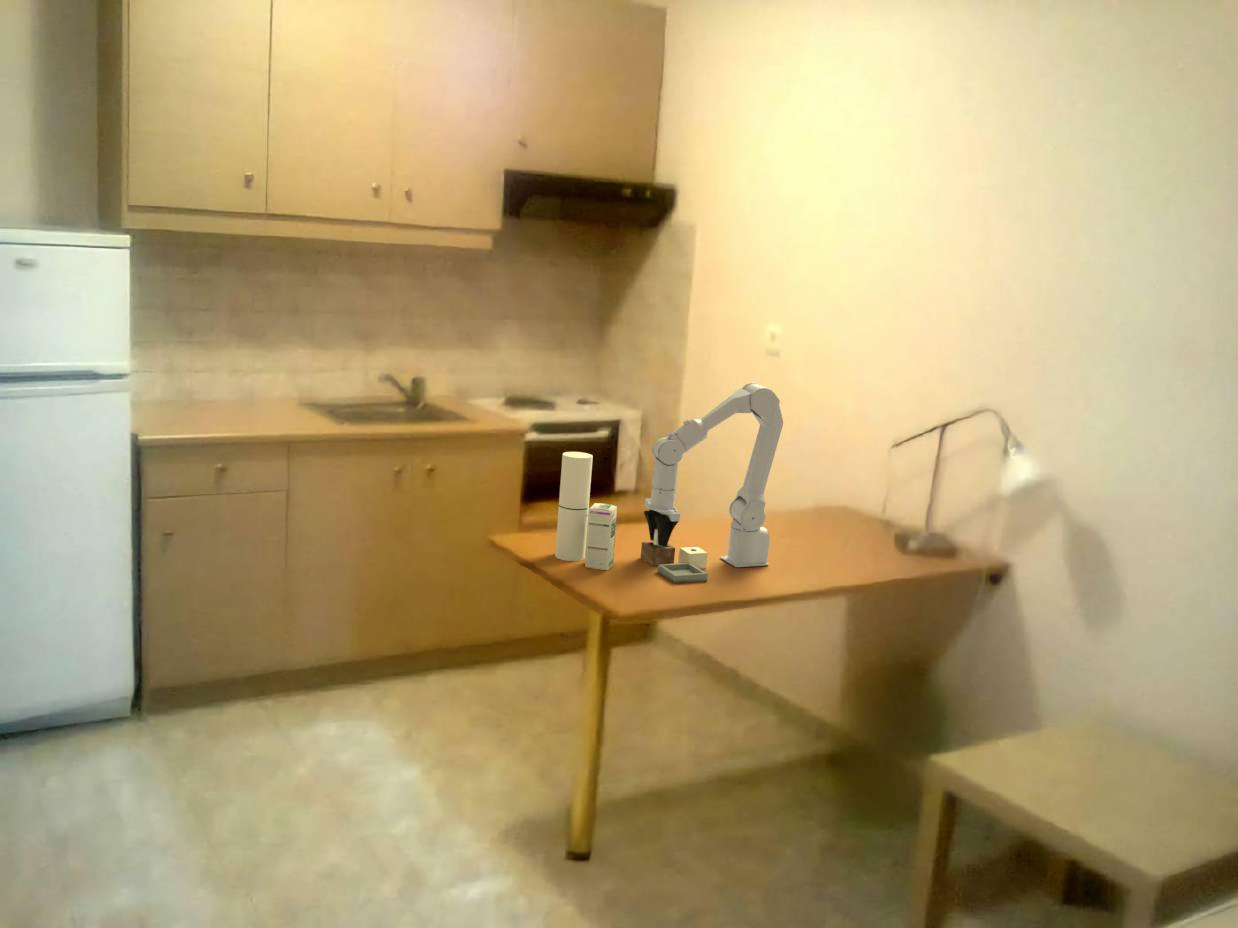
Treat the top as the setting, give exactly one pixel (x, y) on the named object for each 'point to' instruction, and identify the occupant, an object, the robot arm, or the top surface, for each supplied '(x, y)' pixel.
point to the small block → (693, 556)
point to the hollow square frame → (657, 554)
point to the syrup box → (600, 536)
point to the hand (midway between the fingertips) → (658, 542)
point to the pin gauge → (656, 539)
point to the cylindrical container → (573, 506)
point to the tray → (682, 572)
